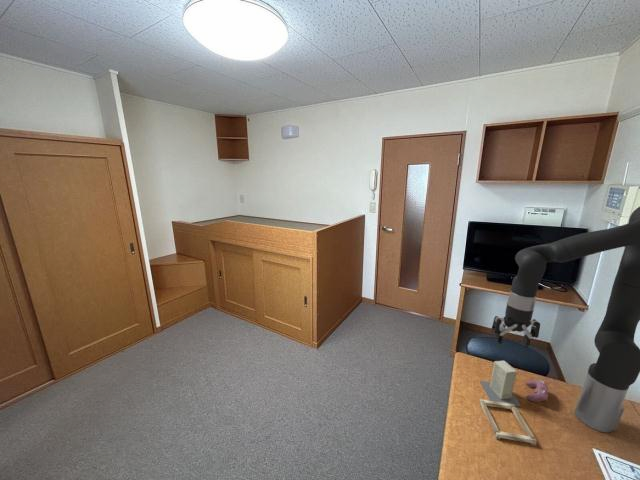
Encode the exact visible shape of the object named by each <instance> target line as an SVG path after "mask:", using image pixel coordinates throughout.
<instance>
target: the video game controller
mask: <svg viewBox="0 0 640 480" xmlns="http://www.w3.org/2000/svg"><path fill="white" fill-rule="evenodd" d="M525 385H526V386H527V387H529V388H534V389H533V392H534V393H531V394H530V393H529V394H527V395H526V396H525V398H526V399H527V400H528V401H530V402H541V401H542V402H544V401H545V400H548V397H549V394H548V393H549V391H548V390H549V387H548V385H547V383H546V382H545V381H544V380H542V379H533V380H526V382H525Z"/></svg>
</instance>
